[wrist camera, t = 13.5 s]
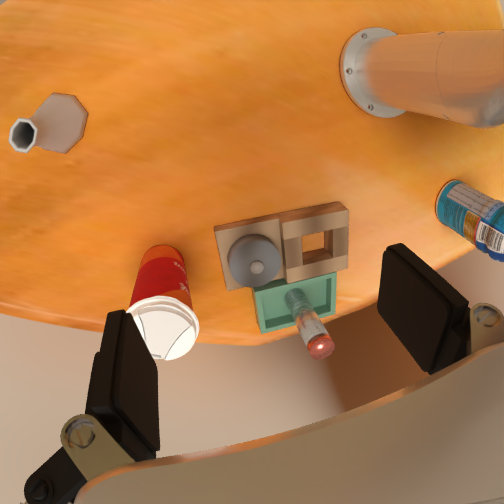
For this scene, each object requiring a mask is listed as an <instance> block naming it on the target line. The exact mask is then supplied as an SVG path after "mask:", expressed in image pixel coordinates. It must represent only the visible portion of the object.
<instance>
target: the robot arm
mask: <svg viewBox="0 0 504 504" xmlns="http://www.w3.org/2000/svg"><path fill="white" fill-rule="evenodd" d="M361 36H362V37H361ZM346 70H347V72H346ZM340 74H341V78H342V82H343V85H344V87H345V90H346V92H347V93H348V95H349V97H350V98H351V100H352V101H353V102H354V103H355V104H356V105H357V106H358V107H359V108H360V109H362V110H363V111H364V112H366V113H368V114H370V115H373V116H377V117H382V118H393V117H396V116H399V115H401V114H403V113H405V112H406V111H410V112H415V113H420V114H424V115H429V116H433V117H437V118H441V119H445V120H449V121H453V122H457V123H460V124H464V125H468V126H471V127H475V128H480V129H489V128H495V127H497V126H500V125H502V124H503V123H504V29H501V30H461V31H438V32H424V33H413V34H404V35H398V34H396V33H395V32H393V31H391V30H388V29H385V28H381V27H372V28H366V29H363V30H361V31H358V32H357V33H355V34H354V35H352V36H351V38H350V39H349V40H348V41H347V42H346V44H345V46H344V48H343V51H342V54H341V59H340ZM368 106H369V107H368ZM468 304H469V301H467V300H466V299H465V298H464V297H463V296H462V295H461V294H460V293H459V292H458V291H457V290H456V289H454V288H453V287H452V286H451V285H450V284H449V283H448V282H447V281H446V280H445V279H444V278H442V277H441V276H440V275H439V274H438V273H437V272H436V271H434V270H433V269H432V268H431V267H430V266H429V265H428V264H426V263H425V262H424V261H423V260H422V259H421V258H419V257H418V256H417V255H416V254H415V253H413V252H412V251H411V250H410V249H409V248H407V247H406V246H405V245H404V244H402V243H398V244H394V245H391V246H388V247H387V248H386V251H384V253H383V259H382V270H381V279H380V288H379V296H378V303H377V308H378V312H379V314H380V315H381V316H382V318H383V319H384V321H385V322H386V323H387V324H388V326H389V327H390V328H391V329H392V331H393V332H394V333H395V335H396V336H397V337H398V338H399V340H400V341H401V342H402V344H403V345H404V346H405V348H406V349H407V350H408V351H409V353H410V354H411V355H412V357H413V358H414V360H415V361H416V362H417V363H418V365H419V366H420V367H421V369H422V370H423V371H424V372H428V374H429V375H430V376H428V377H426V378H424V379H422V380H421V381H418V382H416V383H414V384H412V385H410V386H408V387H405V388H403V389H401V390H399V391H397V392H395V393H392V394H390V395H388V396H385V397H383V398H380V399H378V400H376V401H373V402H371V403H368V404H366V405H363V406H361V407H358V408H356V409H353V410H350V411H348V412H345V413H342V414H339V415H337V416H334V417H331V418H328V419H325V420H322V421H319V422H316V423H313V424H310V425H307V426H304V427H300V428H297V429H293V430H290V431H287V432H283V433H279V434H276V435H272V436H268V437H265V438H260V439H257V440H252V441H248V442H244V443H239V444H235V445H230V446H225V447H220V448H215V449H210V450H205V451H199V452H194V453H188V454H182V455H175V456H168V457H162V458H157V459H156V451H159V450H160V437H159V414H158V413H159V412H158V371H157V366H156V363H155V361H154V359H153V357H152V355H151V353H150V351H149V349H148V347H147V345H146V343H145V341H144V339H143V337H142V335H141V333H140V331H139V329H138V327H137V325H136V323H135V321H134V318H133V316H132V314H131V313H130V312H129V313H126V311H125V310H118V311H113V312H109V313H108V315H107V319H106V323H105V328H104V333H103V338H102V342H101V347H100V352H97V353H96V354H95V357H94V362H93V367H92V372H91V378H90V384H89V390H88V396H87V402H86V409H85V414H80V415H77V416H74V417H72V418H71V419H69V420H68V421H67V422H66V423H65V425H64V426H63V428H62V431H61V435H60V437H61V443H62V445H63V446H62V447H61V448H60V449H59V450H58V451H57V452H56V453H55V454H54V455H53V456H52V457H50V458H49V460H47V461H46V462H45V463H44V464H43V465H42V466H41V467H40V468H38V469H37V470H36V471H35V472H34V473H33V474H32V475H31V476H30V477H29V478H28V479H27V481H26V483H25V487H24V495H25V498H26V502H25V503H24V504H504V316H503V314H502V312H501V311H500V310H499V309H498V308H496V307H495V306H493V305H491V304H488V303H478V304H476V305H474V306H473V307H472V308H471V309H470V308H469V307H468ZM20 504H23V503H20Z"/></svg>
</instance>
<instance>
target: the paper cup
mask: <svg viewBox="0 0 504 504" xmlns="http://www.w3.org/2000/svg"><path fill="white" fill-rule="evenodd" d="M129 312H130V313H131V314H132V316H133V318H134V321H135V323H136V325H137V327H138V329H139V331H140V333H141V335H142V337H143V339H144V341H145V343H146V345H147V347H148V349H149V351H150V353H151V355H152V357H153V358H155V359H160V358H162V359H164V358H165V360H172V359H175V358H178V357H180V356H182V355H184V354H185V353H187V352H188V351H189V350H190V349H191V347H192V346H193V344H194V342H195V340H196V338H197V336H198V333H199V322H198V319H197V317H196V315H195V313H194V312H193V308H192V302H191V297H190V291H189V286H188V281H187V275H186V270H185V265H184V261H183V258H182V256H181V254H180V253H179V252H178V251H177V250H176V249H175V248H173V247H171V246H167V245H158V246H154V247H152V248H151V249H149V250H148V251H147V252H146V253H145V255H144V257H143V259H142V262H141V265H140V269H139V272H138V276H137V279H136V283H135V287H134V290H133V294H132V298H131V302H130V306H129V309H128V310H127V311H126V313H129Z"/></svg>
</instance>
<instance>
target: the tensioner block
mask: <svg viewBox="0 0 504 504" xmlns="http://www.w3.org/2000/svg"><path fill="white" fill-rule="evenodd" d="M214 231H215V235H216V240H217V245H218V250H219V255H220V260H221V264H222V269H223V274H224V278H225V283H226V287H227V291H230V290H234V289H239V288H243V287H260V286H263V285H265V284H267V283H269V282H270V281H273V280H277V279H281V278H285V280H286V282H287V284H288V283H292V282H296V281H300V280H304V279H308V278H312V277H316V276H320V275H324V274H328V273H332V272H336V271H339V270H343V269H347V268H348V236H349V209H347V208H346V207H345V206H343V205H342V204H341V203H340V202H334V203H329V204H323V205H318V206H313V207H308V208H303V209H298V210H292V211H287V212H282V213H277V214H272V215H268V216H263V217H258V218H253V219H248V220H243V221H239V222H234V223H229V224H225V225H220V226H215V227H214ZM322 231H324V248H322V249H318V250H314V251H309V252H305V253H302V240H301V236H304V235H309V234H313V233H318V232H322Z"/></svg>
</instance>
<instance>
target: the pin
mask: <svg viewBox="0 0 504 504" xmlns="http://www.w3.org/2000/svg"><path fill="white" fill-rule="evenodd" d="M284 301H285V304H286V306H287V308H288V310H289V312H290V314H291V316H292V318H293V320H294V322H295V324H296V326H297V328H298V330H299V332H300V334H301V336H302V338H303V340H304V342H305V344H306V346H307V348H308V350H309V352H310V354H311V356H312V358H314V359H323V358H326V357H327V356H329V355H330V354H331V353H332V352H333V350H334V349H335V344H334V343H333V341H332V339H331V338H330V336H329V334H328V332H327V331H326V329H325V327H324V326H323V324H322V322H321V320H320V319H319V317H318V315H317V314H316V312H315V310H314V308H313V307H312V305H311V303H310V302H309V300H308V298H307V297H306V295H305V293H304V292H303V290H301V289H299V288H295V289H291V290H290V291H288V292H287V293H286V295H285V297H284Z"/></svg>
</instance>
